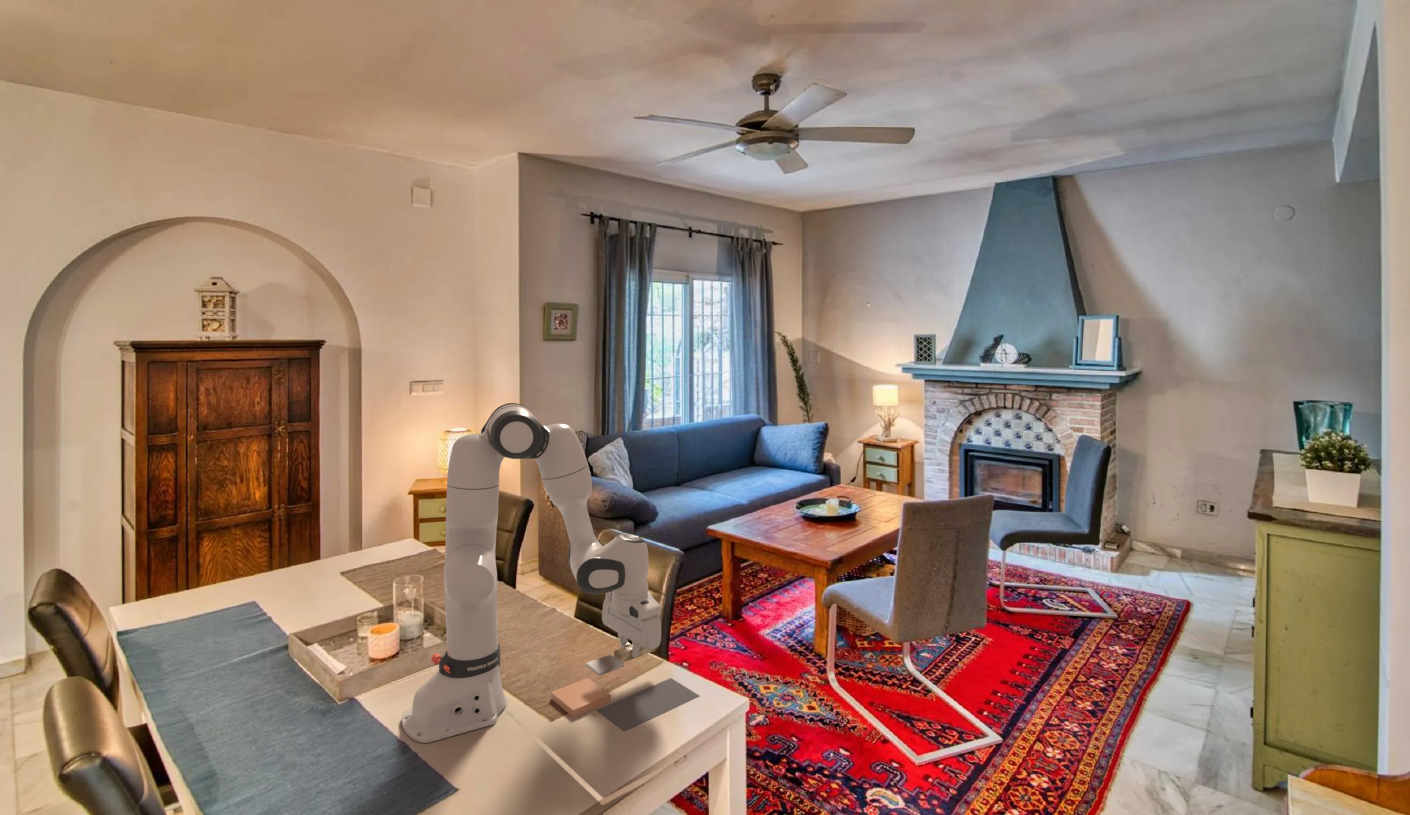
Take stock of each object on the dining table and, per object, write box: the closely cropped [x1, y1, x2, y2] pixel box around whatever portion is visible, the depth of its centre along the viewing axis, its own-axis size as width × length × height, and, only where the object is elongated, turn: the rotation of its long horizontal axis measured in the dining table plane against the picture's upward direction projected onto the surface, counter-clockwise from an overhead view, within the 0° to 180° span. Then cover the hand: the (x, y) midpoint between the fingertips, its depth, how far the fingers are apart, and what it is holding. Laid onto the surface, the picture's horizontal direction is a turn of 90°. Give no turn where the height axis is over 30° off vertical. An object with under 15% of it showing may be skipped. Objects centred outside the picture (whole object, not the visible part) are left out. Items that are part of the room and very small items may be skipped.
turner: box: [585, 644, 656, 677], centre depth 167 cm, size 18×6×2 cm, turn 132°
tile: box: [550, 677, 612, 718], centre depth 159 cm, size 3×10×10 cm
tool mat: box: [596, 677, 700, 732], centre depth 159 cm, size 22×11×1 cm, turn 132°
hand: (629, 653), depth 168 cm, fingers closed on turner, 2 cm apart
